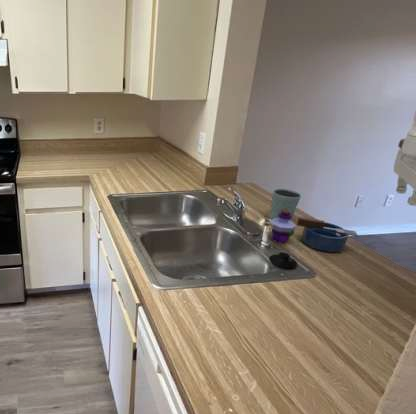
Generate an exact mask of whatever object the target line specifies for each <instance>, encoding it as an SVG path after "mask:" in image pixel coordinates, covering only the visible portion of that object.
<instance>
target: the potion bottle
mask: <svg viewBox="0 0 416 414" xmlns="http://www.w3.org/2000/svg"><path fill="white" fill-rule="evenodd" d="M290 212H291V211H290V210H287V209H282V210H281V212H279V213H278V217H279V218H274V219H272V220H271V222H272V224H273V229H272V232H271V231H270V238H271V237H272V239H273V240H275V241H277V242H276V243H278V242H281V243H280V244H286V243H288V240H289V239H290V238H291V237H292V236H293V235H294V233H295V230H296V228H297V224H295V222H294V221H293V220H292V221H289V219H291V218H292V214H291V213H290ZM292 219H293V218H292ZM272 239H271V240H272ZM273 240H272V241H273ZM275 241H274V242H275Z"/></svg>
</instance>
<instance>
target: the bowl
mask: <svg viewBox="0 0 416 414" xmlns="http://www.w3.org/2000/svg"><path fill="white" fill-rule="evenodd" d="M324 222H325V224H324V227H327V228H333V229H335V228H337V229H344V228H343V227H342V226H339V225H337V224H334V223H330V222H326V221H324ZM349 236H350V235H347V234H342V233H336V231H330V230H324V229H323V230H321V229H316V228H310V227H304V226H303V230H302V233H301V237H300V239H301V241H302V242H303V243H304V244H305V245H306V246H307V247H310V248H312V249H314V250H317V251H321V252H327V253H337V252H342V251H343V250H344V249H345V247H346V244H347V241H348V239H349Z"/></svg>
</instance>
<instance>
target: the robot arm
mask: <svg viewBox="0 0 416 414" xmlns="http://www.w3.org/2000/svg"><path fill="white" fill-rule="evenodd" d="M397 147H398V148H399V149H398V151H397V153H396V156H395V160H394V164H393V173H395V174H396V175H397V176H398V177H397V185H396V188H395V192H396V193H397V194H400V195H402V194H403V195H404V194H406V192H407V189H408V185H409V187H411V188H412V194H411V196H408V199H407V202H406V203H407V204H408V205H409V206H412V207H413V206H414V207H416V111H415V112H414V115H413V122H412V126H411V127H410V129H409V130H408V131H407V134H406V137H404V138H401V139H400V140H399V142H398V143H397Z"/></svg>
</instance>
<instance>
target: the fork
mask: <svg viewBox="0 0 416 414" xmlns="http://www.w3.org/2000/svg"><path fill="white" fill-rule="evenodd" d="M325 222H326V221H325V220H321V219H316V218H315V219H314V218H308V217H303V216H298V218H297V221H296V226H297V227H303V228H304V227H310V228H316V229H321V230H323V229H324V230H330V231H336V233H342V234H347V235H349V236H353V237H358V236H359V235H358V233H357V231H356V230H351V229H350V230H349V229H345V228H343V229H337V228H335V229H333V228H327V227H324V224H325Z"/></svg>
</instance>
